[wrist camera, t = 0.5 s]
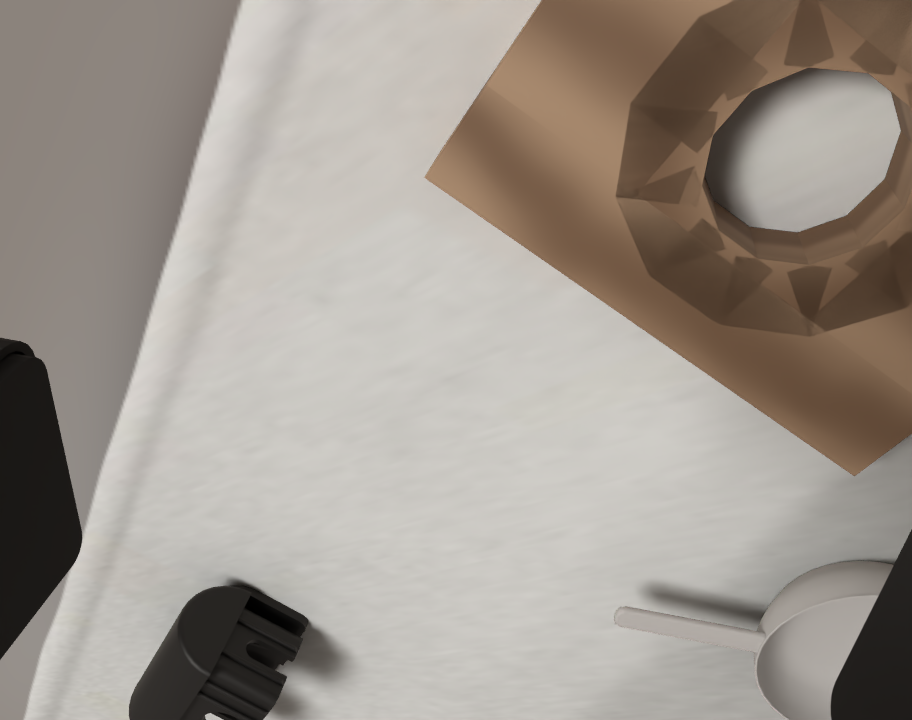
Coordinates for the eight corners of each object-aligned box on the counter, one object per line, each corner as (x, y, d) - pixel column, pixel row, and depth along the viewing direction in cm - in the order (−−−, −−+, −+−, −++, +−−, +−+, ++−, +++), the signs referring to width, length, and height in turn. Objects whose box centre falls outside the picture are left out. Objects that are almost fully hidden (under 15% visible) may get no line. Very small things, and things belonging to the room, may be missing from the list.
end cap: (211, 559, 52) (159, 649, 46) (314, 614, 53) (275, 709, 47) (161, 642, 57) (108, 733, 51) (255, 691, 58) (213, 785, 52)
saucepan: (916, 705, 47) (936, 769, 44) (594, 628, 49) (591, 685, 46) (1012, 571, 41) (1042, 634, 38) (642, 488, 43) (641, 542, 40)
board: (887, -518, 23) (916, -558, 21) (1414, -17, 27) (1493, 0, 24) (440, 152, 35) (424, 177, 33) (840, 434, 39) (854, 476, 36)
